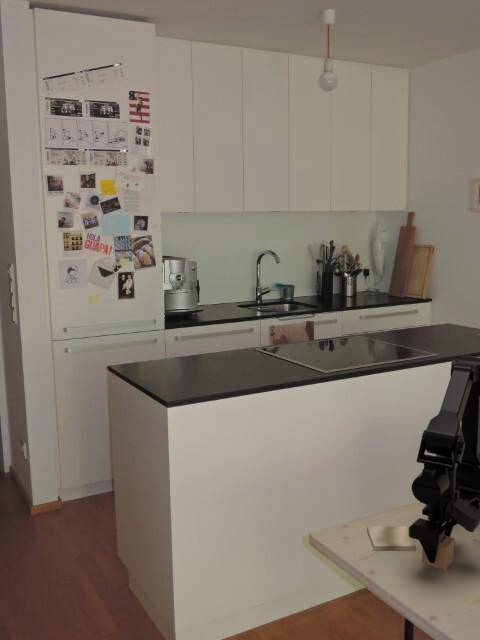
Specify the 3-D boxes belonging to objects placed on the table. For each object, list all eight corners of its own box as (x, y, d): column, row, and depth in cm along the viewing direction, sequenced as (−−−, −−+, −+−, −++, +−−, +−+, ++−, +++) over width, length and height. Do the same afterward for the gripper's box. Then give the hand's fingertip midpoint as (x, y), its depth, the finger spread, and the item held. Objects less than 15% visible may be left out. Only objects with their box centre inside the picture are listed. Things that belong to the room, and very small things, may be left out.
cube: (430, 553, 141) (431, 531, 140) (453, 560, 138) (454, 538, 137) (421, 563, 137) (422, 541, 136) (445, 570, 134) (446, 548, 133)
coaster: (405, 530, 151) (406, 526, 150) (415, 550, 142) (415, 546, 142) (367, 530, 151) (367, 526, 151) (374, 550, 142) (374, 546, 142)
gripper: (465, 513, 122) (461, 589, 125) (494, 480, 137) (490, 548, 140) (408, 498, 129) (406, 570, 132) (442, 468, 144) (439, 534, 146)
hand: (437, 555), depth 137 cm, fingers open, 6 cm apart
